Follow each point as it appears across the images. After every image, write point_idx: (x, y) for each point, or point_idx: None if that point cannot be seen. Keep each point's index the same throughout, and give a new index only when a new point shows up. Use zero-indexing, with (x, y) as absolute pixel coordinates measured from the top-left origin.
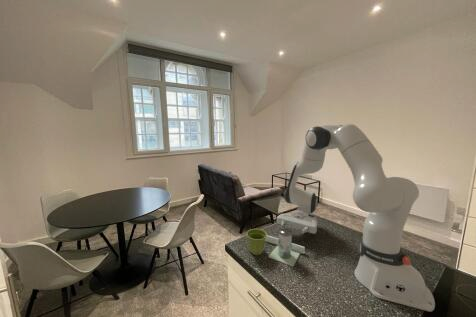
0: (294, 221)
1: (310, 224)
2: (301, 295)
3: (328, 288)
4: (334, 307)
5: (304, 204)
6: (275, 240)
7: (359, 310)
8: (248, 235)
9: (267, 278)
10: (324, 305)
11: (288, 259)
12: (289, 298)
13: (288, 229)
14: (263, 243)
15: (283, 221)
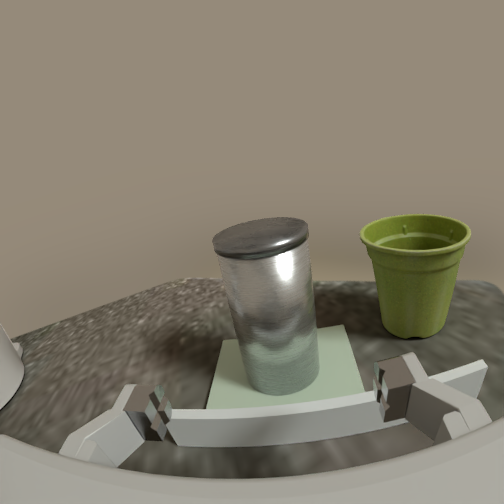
0: (264, 490)
1: (8, 475)
2: (187, 292)
3: (115, 329)
4: (120, 303)
5: None
6: None
7: (75, 317)
8: (449, 237)
9: None
10: (139, 298)
11: None
12: (213, 278)
13: (247, 247)
14: (374, 272)
15: (455, 413)
